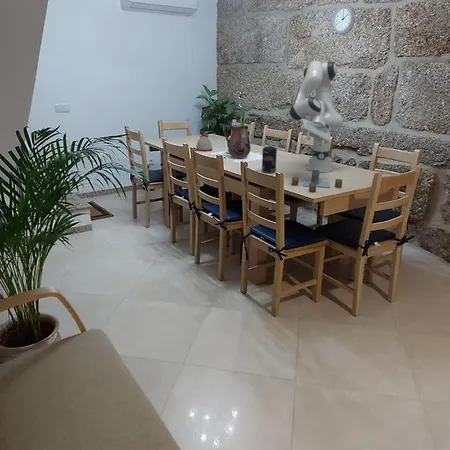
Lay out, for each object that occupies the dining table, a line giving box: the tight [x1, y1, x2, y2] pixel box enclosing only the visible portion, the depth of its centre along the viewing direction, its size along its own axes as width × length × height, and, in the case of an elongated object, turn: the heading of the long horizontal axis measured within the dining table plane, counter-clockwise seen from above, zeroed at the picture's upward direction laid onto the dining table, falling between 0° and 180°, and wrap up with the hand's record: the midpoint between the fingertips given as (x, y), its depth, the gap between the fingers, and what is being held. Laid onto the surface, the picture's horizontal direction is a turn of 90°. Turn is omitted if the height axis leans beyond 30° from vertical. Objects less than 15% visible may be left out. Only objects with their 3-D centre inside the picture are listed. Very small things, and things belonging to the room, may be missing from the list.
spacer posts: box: [291, 176, 343, 193], centre depth 254 cm, size 17×30×4 cm, turn 81°
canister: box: [261, 145, 278, 174], centre depth 291 cm, size 10×10×18 cm
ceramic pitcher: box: [223, 124, 251, 160], centre depth 335 cm, size 18×21×25 cm
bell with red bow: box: [195, 132, 213, 153], centre depth 366 cm, size 14×14×15 cm
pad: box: [302, 180, 331, 189], centre depth 263 cm, size 12×16×1 cm
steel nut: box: [310, 170, 321, 184], centre depth 262 cm, size 5×4×8 cm
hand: (314, 142), depth 257 cm, fingers open, 8 cm apart
